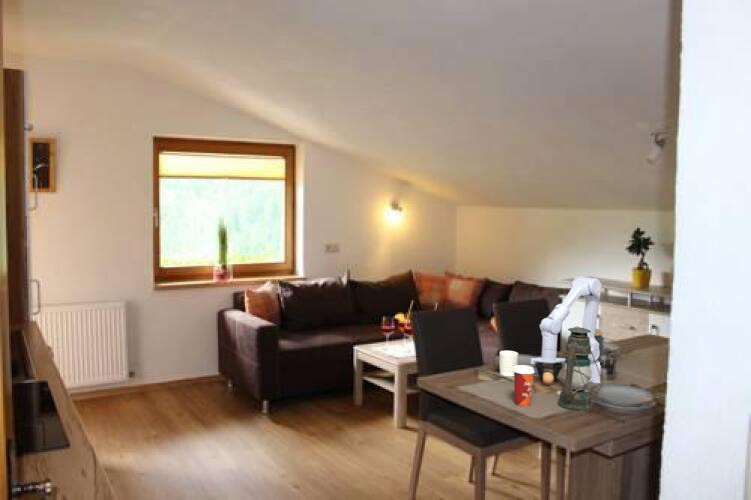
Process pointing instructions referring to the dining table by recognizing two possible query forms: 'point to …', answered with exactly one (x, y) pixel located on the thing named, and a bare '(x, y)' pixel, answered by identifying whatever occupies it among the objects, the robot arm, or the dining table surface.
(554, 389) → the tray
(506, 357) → the white cup
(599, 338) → the canister
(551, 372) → the bowl
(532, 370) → the paper cup
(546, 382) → the ball
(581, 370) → the lantern
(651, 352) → the dining table surface
